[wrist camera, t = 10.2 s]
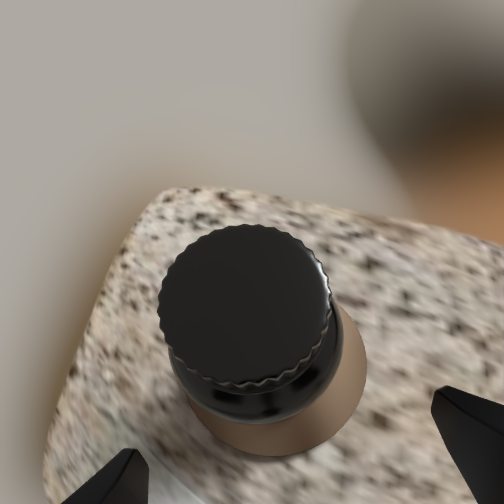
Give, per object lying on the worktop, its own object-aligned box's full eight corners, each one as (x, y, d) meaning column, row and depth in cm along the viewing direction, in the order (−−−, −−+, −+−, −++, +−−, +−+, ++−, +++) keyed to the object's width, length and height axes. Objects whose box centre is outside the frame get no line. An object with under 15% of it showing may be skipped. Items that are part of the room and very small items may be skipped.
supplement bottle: (335, 398, 16) (414, 366, 6) (231, 435, 16) (151, 460, 6) (296, 305, 20) (305, 173, 10) (200, 338, 19) (111, 239, 9)
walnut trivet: (239, 483, 15) (237, 486, 14) (161, 335, 21) (156, 331, 20) (394, 388, 17) (400, 387, 16) (301, 259, 23) (302, 253, 22)
